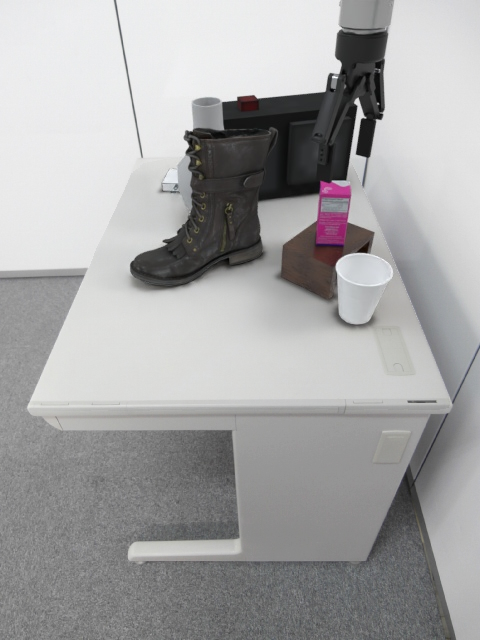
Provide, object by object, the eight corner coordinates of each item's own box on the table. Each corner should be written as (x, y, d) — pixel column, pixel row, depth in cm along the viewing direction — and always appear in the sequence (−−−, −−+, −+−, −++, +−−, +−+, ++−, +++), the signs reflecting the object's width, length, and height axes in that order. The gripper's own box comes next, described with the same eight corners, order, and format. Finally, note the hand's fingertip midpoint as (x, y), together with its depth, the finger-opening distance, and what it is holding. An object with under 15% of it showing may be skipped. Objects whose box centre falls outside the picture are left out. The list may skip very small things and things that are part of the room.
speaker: (348, 192, 122) (363, 98, 105) (224, 209, 116) (219, 113, 100) (327, 169, 132) (337, 81, 116) (213, 184, 127) (207, 94, 111)
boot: (125, 269, 97) (92, 136, 78) (257, 230, 108) (258, 104, 88) (141, 298, 90) (109, 159, 70) (281, 254, 100) (288, 121, 81)
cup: (386, 332, 81) (399, 285, 74) (332, 333, 81) (340, 286, 74) (374, 298, 88) (386, 252, 81) (325, 298, 88) (331, 252, 81)
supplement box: (315, 230, 92) (320, 178, 85) (343, 232, 92) (352, 180, 84) (314, 245, 88) (320, 192, 80) (344, 247, 88) (353, 194, 80)
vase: (250, 232, 107) (250, 112, 88) (183, 238, 106) (168, 117, 87) (242, 200, 119) (240, 88, 100) (181, 205, 118) (167, 92, 99)
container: (174, 168, 135) (173, 160, 134) (210, 169, 134) (210, 161, 132) (157, 200, 121) (156, 191, 119) (198, 201, 120) (197, 192, 118)
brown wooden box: (368, 263, 97) (374, 232, 92) (328, 299, 88) (333, 267, 83) (322, 244, 103) (325, 213, 97) (280, 276, 94) (282, 245, 89)
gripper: (379, 15, 74) (360, 142, 88) (293, 40, 60) (286, 186, 75) (422, 18, 70) (394, 150, 85) (341, 47, 57) (324, 199, 71)
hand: (344, 167), depth 80 cm, fingers open, 13 cm apart
